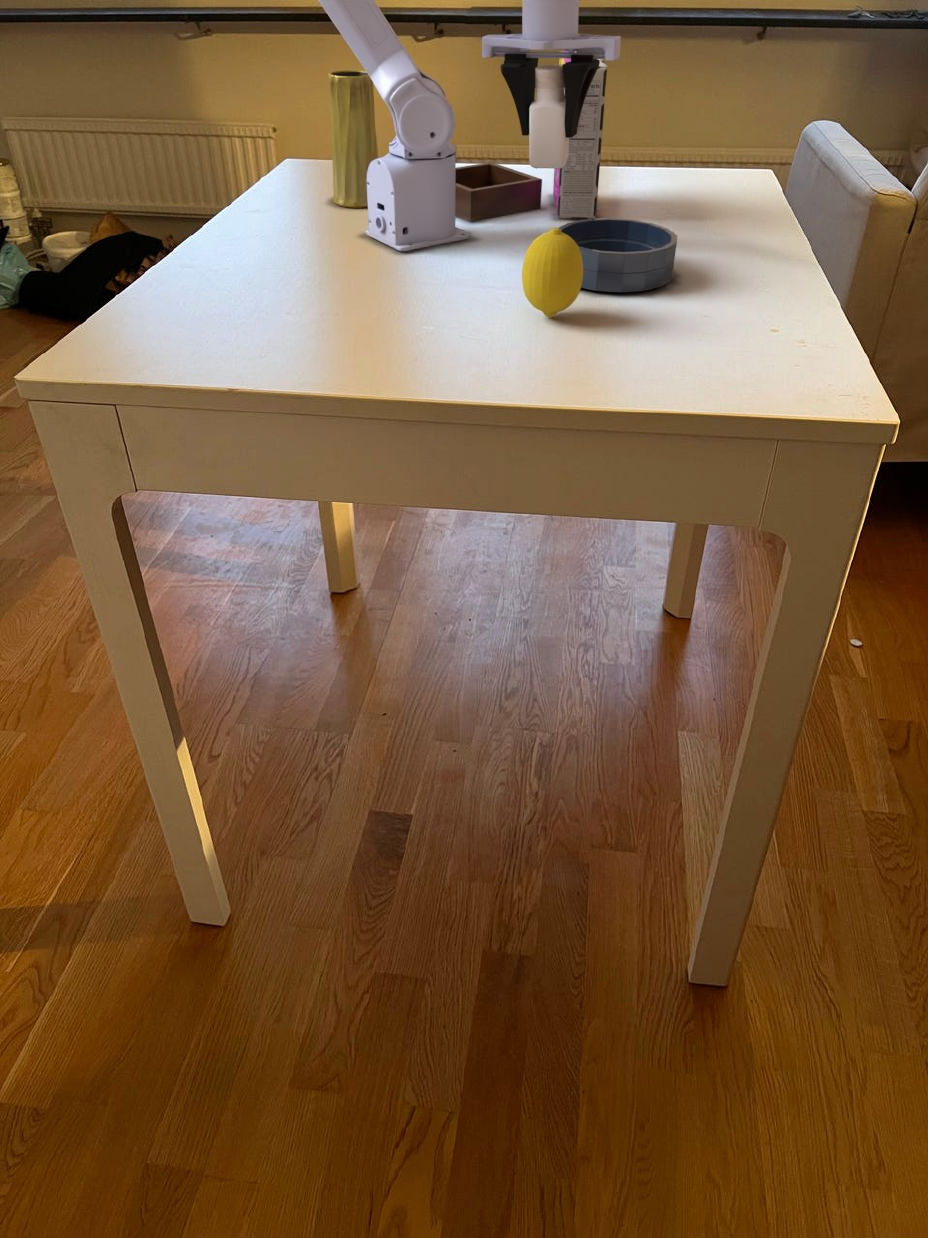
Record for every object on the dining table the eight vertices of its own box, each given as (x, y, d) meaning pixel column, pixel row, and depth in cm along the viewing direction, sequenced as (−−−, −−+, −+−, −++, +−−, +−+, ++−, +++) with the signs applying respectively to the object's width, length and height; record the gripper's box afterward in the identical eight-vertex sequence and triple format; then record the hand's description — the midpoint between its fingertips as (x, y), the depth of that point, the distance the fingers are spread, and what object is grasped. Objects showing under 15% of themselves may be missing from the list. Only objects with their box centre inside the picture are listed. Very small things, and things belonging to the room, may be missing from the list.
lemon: (531, 330, 87) (536, 239, 82) (512, 309, 91) (516, 221, 86) (588, 325, 88) (596, 234, 83) (567, 304, 92) (573, 217, 88)
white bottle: (533, 160, 108) (534, 64, 103) (568, 160, 108) (571, 63, 102) (528, 169, 105) (528, 70, 100) (564, 169, 105) (567, 70, 99)
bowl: (606, 303, 93) (610, 261, 90) (529, 269, 101) (531, 229, 98) (696, 280, 98) (702, 239, 96) (616, 249, 106) (620, 211, 104)
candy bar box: (550, 195, 124) (558, 49, 114) (589, 196, 124) (600, 49, 114) (554, 220, 115) (564, 63, 105) (596, 220, 115) (610, 64, 105)
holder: (470, 222, 114) (471, 191, 112) (422, 202, 121) (422, 172, 119) (540, 209, 119) (542, 178, 117) (490, 190, 126) (491, 161, 124)
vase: (351, 210, 118) (343, 78, 109) (324, 200, 122) (314, 71, 113) (391, 202, 121) (386, 73, 112) (364, 192, 125) (357, 67, 116)
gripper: (468, -10, 96) (473, 139, 104) (608, -11, 91) (602, 145, 99) (495, -18, 101) (497, 125, 109) (629, -19, 96) (621, 131, 104)
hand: (548, 134), depth 105 cm, fingers closed on white bottle, 4 cm apart
